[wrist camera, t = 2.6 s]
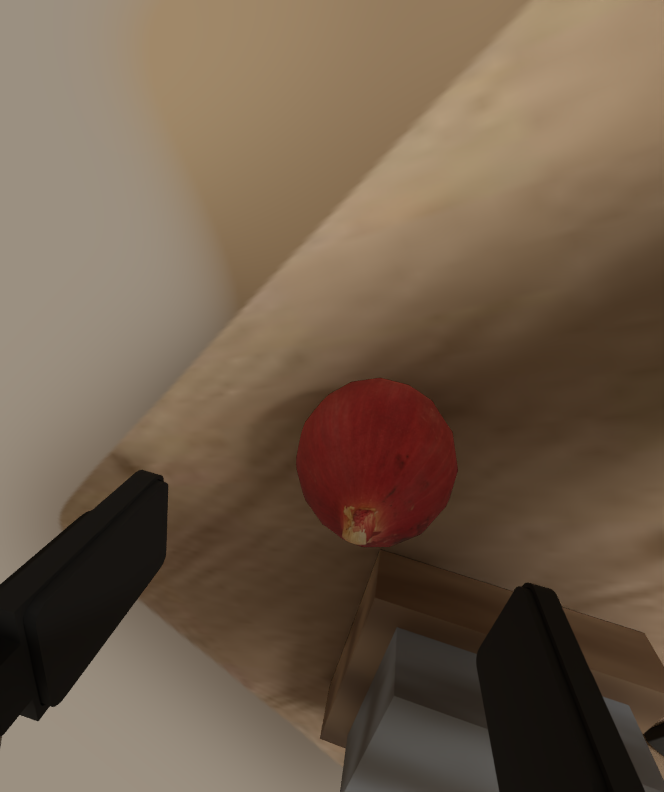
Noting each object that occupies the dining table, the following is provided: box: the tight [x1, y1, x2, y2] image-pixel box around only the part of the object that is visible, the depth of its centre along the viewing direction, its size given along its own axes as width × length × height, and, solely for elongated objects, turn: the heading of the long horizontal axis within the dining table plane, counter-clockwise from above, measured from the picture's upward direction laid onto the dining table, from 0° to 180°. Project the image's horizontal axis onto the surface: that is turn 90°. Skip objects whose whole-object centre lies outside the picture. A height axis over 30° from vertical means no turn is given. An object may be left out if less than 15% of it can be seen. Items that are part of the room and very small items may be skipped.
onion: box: [296, 378, 458, 547], centre depth 13 cm, size 6×6×8 cm
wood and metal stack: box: [320, 550, 664, 792], centre depth 20 cm, size 14×14×6 cm
